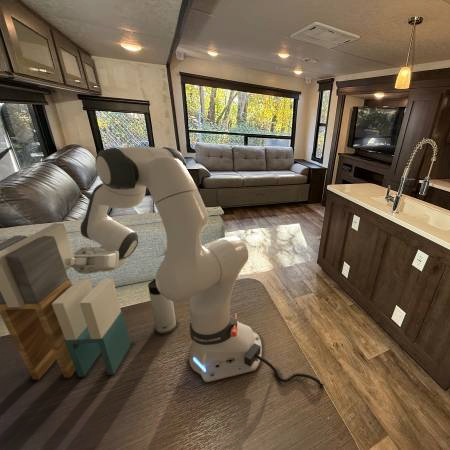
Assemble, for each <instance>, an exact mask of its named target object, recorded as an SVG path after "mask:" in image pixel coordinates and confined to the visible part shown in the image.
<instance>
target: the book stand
mask: <svg viewBox="0 0 450 450" xmlns="http://www.w3.org/2000/svg"><path fill="white" fill-rule="evenodd" d="M27 237H28V235H14V236H12V237H10V238H8V239H6V240H4V241H1V242H0V251H1V250H3V249H5V248H7V247H9V246H11V245H13V244H15V243H17V242H19V241H21V240H23V239H25V238H27ZM6 258H7V260H8V263H9V265H10V267H11V269H12V272H13V274H14V276H15V279H16V281H17V283H18V285H19V288H20V290H21V292H22V294H23V297H24V299H25V301H26V303H24V304H23V305H22V306H21V307H8V306H7V304H6V302H5V300H4V298H3V296H2V294H1V291H0V317H1V319H2V321H3V323H4V325H5V327H6V329H7V331H8V333H9V336H10V337H11V339H12V341H13V343H14V346H15V347H16V349H17V351H18V353H19V355H20V357H21V358H22V361H23V363H24V365H25V367H26V368H27V371H28V373H29V375H30V377H31V379H32V380H40V379H41V377H43V376H44V374H45V373H46V372H47V371H48V370H49V368H50V367H51V366H52V365H53V364H54V363H55V361H56V362H57V364H58V366H59V369H60V371H61V373H62V376H63V378H71V377H72V376H73V375H74V373H75V372H76V369H75V366H74V364H73V361H72V359H71V356H70V354H69V351H68V349H67V346H66V344H65V341H64V340H65V337H64V334H63V332H62V329H61V327H60V324H59V321H58V319H57V316H56V314H55V311H54V309H53V306H52V303H53V302H54V301H55V300H56V299H57V298H58V297H60V296H61V295H62V294H63V293H64V292H65V291H66V290H67V289H69V288H70V287H71V286H72V285H73V283H72V280H71V279H70V278H69V276H68V273H67V271H66V270H65V267H64V264H63V261H62V258H61V255H60V252H59V249H58V246H57V243H56V241H55V238H54V236H43V237H41V238H39V239H37V240H35V241H33V242H32V243H30V244H28V245H26V246H24V247H22V248H21V249H19V250H17V251H15V252H13V253H11V254H10V255H8V256H6Z"/></svg>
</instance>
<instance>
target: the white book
mask: <svg viewBox="0 0 450 450" xmlns="http://www.w3.org/2000/svg"><path fill="white" fill-rule="evenodd" d="M43 236H54V238H55V241H56V243H57V246H58V249H59V252H60V255H61V258H62V261H63V264H64V267H65V270H66V272H67V271H68V270H69V269H70V268H73V267H72V266H73V265H65V262H66V261H65V259H66V258H74V251H73V249H72V245H71V243H70V239H69V236H68V232H67V229H66V226H65V223H58V222H57V223H52V224H50V225H48V226H47V227H45V228H42V229H40V230H38V231H36V232H35V233H33V234H31V235H29V236H27V238H25V239H23V240H21V241H19V242H17V243H15V244H13V245H11V246H9V247H7V248H5V249H3V250H1V251H0V291H1V294H2V296H3V298H4V300H5V302H6V304H7V306H8V307H21V306H22V305H23V304H24V303H26V301H25V299H24V297H23V294H22V292H21V290H20V288H19V285H18V283H17V281H16V279H15V276H14V274H13V272H12V269H11V267H10V265H9V263H8V260H7V258H6V256H8V255H10V254H11V253H13V252H15V251H17V250H19V249H21V248H22V247H24V246H26V245H28V244H30V243H32V242H33V241H35V240H37V239H39V238H41V237H43Z"/></svg>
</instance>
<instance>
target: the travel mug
mask: <svg viewBox="0 0 450 450" xmlns="http://www.w3.org/2000/svg"><path fill="white" fill-rule="evenodd" d="M147 287H148V293H149V300H150V305H151V310H152V315H153V321H154V327H155V331H156V332H157V333H158V334H161V335H162V334H169V333H171V332H172V331H173V330H174V329H175V328H176V326H177V321H176V314H175V308H174V307H175V306H174V301H171V300H168V299H167V298H165V297H164V296H162V295H161V293H160V292H159V291H158V289H157V286H156V278H154V279H152V280H151V281H150V282H148V284H147Z"/></svg>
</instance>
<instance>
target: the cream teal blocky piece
mask: <svg viewBox="0 0 450 450" xmlns="http://www.w3.org/2000/svg"><path fill="white" fill-rule="evenodd" d="M52 306H53V309H54V311H55V314H56V316H57V319H58V321H59V324H60V327H61V329H62V332H63V334H64V337H65V340H64V341H65V344H66V346H67V349H68V351H69V354H70V356H71V359H72V361H73V364H74V366H75V369H76V370H75V372H76V374H77V376H78V377H85V376H86V375H87V373H88V372H89V370H90V369H91V368H92V366H93V365H94V363H95V361H96V360H97V359H98V358H99V356H100V355H101V356H102V360H103V363H104V366H105V369H106V372H107V373H106V374H107V375H109V376H110V375H115V373H116V372H117V370H118V368H119V366H120V365H121V363H122V361H123V360H124V358H125V356H126V355H127V353H128V351H129V349H130V347H131V346H132V345H131V344H132V343H131V340H130V337H129V331H128V328H127V324H126V321H125V316H124V312H123V311H122V309H121V305H120V302H119V298H118V293H117V290H116V285H115V281H114V278H111V277H110V278H109V277H108V278H107V277H105V278H102V279H101V280H100V282H98V283H97V285H95V286H94V287H93V285H92V283H91V280H90V278H79V279H77V280H76V281H75V282H74V283H72V286H71V287H70V288H69V289H67V290H66V291H65V292H64V293H63V294H62V295H61V296H60V297H58V298H57V299H56V300H55V301H54V302H53V303H52Z"/></svg>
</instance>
